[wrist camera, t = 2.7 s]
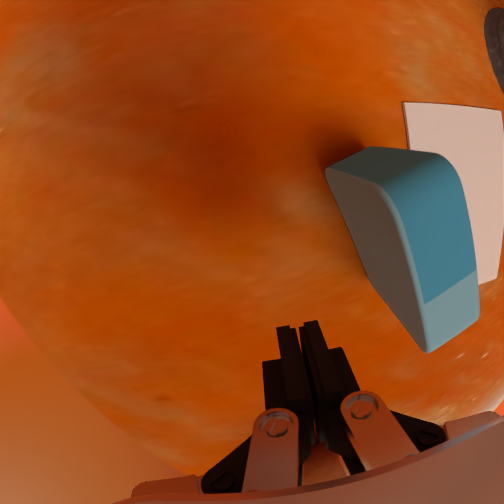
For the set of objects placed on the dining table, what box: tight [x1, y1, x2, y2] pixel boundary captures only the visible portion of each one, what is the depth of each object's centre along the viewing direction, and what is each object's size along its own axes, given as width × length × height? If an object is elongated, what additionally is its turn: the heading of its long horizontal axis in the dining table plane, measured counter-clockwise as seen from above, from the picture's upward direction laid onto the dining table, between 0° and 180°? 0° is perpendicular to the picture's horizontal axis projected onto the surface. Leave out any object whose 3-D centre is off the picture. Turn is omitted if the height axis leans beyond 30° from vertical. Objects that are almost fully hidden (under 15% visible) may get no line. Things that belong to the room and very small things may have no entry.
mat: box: [402, 102, 504, 285], centre depth 24 cm, size 20×14×1 cm
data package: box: [325, 146, 480, 353], centre depth 19 cm, size 12×4×12 cm, turn 29°
